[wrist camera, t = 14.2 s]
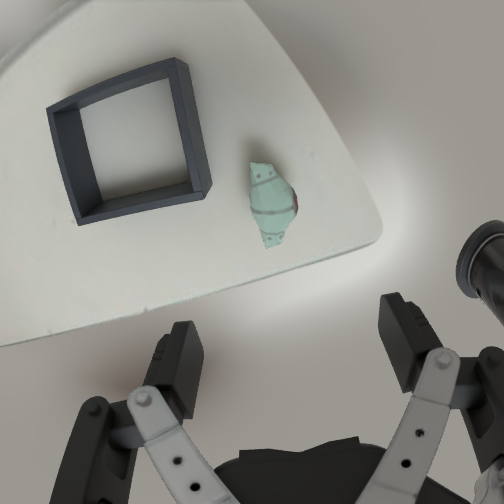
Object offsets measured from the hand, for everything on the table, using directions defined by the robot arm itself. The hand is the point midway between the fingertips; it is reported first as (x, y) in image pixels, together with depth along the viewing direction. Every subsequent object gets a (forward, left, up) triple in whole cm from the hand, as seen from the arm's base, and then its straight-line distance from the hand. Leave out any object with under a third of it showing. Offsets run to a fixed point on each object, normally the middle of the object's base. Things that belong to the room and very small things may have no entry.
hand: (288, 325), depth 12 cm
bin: (+12, -8, -20) cm, 25 cm away
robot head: (0, 0, -20) cm, 20 cm away
